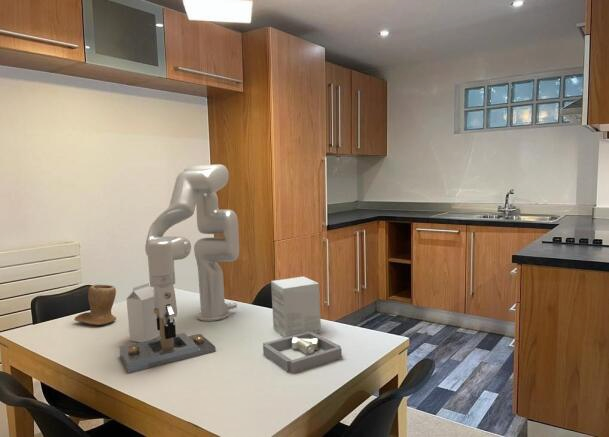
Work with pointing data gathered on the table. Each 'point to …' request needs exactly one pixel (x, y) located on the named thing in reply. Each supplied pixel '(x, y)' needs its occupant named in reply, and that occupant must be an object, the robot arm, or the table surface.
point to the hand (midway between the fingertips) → (166, 333)
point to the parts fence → (296, 365)
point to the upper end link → (142, 353)
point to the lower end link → (203, 348)
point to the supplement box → (295, 306)
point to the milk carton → (142, 314)
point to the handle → (165, 343)
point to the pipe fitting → (305, 344)
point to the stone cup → (99, 305)
